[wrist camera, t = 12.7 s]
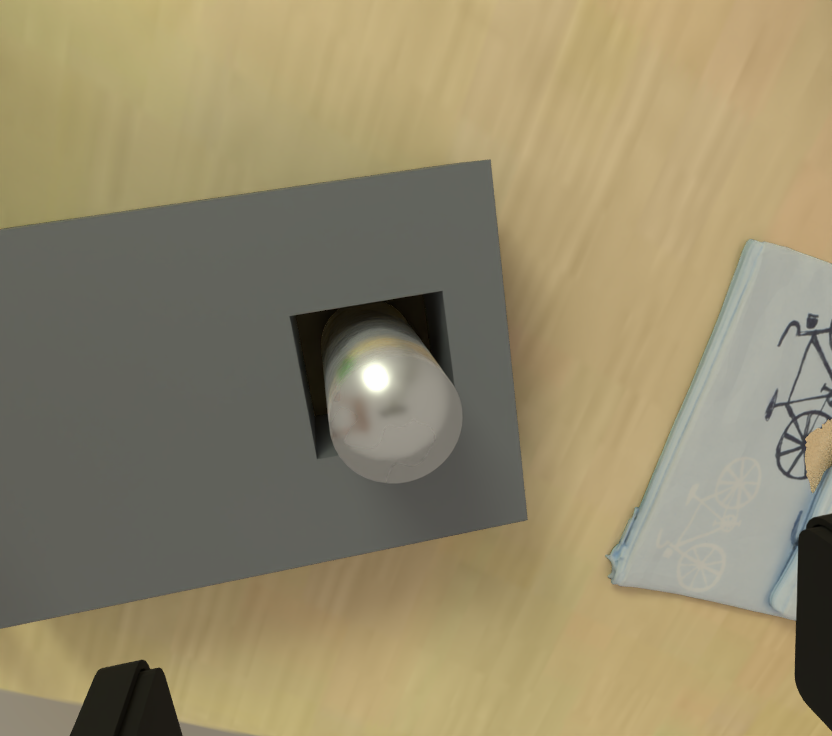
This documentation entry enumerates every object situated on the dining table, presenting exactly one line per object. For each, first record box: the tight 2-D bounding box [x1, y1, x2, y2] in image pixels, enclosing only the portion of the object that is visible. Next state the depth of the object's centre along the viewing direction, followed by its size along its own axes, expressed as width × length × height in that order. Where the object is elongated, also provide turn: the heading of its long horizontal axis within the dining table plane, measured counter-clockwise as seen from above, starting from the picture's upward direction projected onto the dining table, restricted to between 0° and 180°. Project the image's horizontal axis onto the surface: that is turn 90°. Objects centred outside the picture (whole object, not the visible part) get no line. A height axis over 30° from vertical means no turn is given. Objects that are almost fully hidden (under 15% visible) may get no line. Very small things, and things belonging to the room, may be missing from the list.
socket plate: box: [0, 160, 528, 629], centre depth 27 cm, size 22×14×5 cm, turn 98°
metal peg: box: [321, 301, 463, 483], centre depth 26 cm, size 4×4×10 cm
